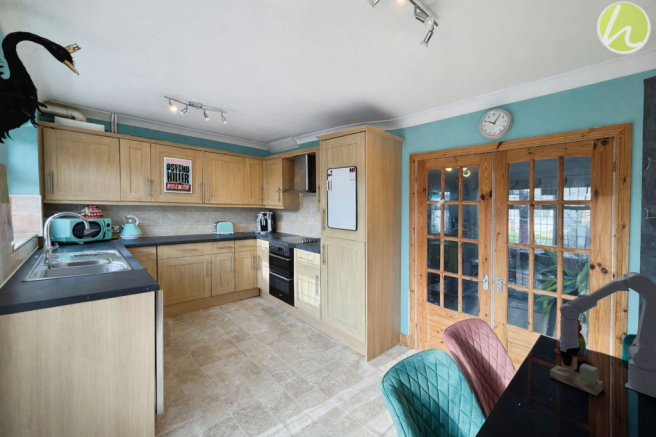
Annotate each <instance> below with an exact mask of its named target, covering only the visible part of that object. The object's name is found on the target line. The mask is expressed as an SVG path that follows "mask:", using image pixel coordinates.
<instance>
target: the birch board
mask: <svg viewBox="0 0 656 437" xmlns="http://www.w3.org/2000/svg"><path fill="white" fill-rule="evenodd" d="M549 371H550V373H549V377H550V378H551V379H553V380H557V381H559V382H561V383H565V384H567V385H569V386H572V387H574V388H577V389H579V390H581V391H584V392H587V393H588V394H592V395H594V396H598V395H599V393H601V392H602V391H603V389H604V387H603V382H604V381H602V380H599V379H597V382H596V383H595V384H591V383H589V382H586V381H584V380H581V379H580V372H577V371H576V370H574V371H572V370H569V369H566V368H564V367H562V365H561V366H560V365H555V366H554V367H553V368H551V369H550V370H549Z"/></svg>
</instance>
